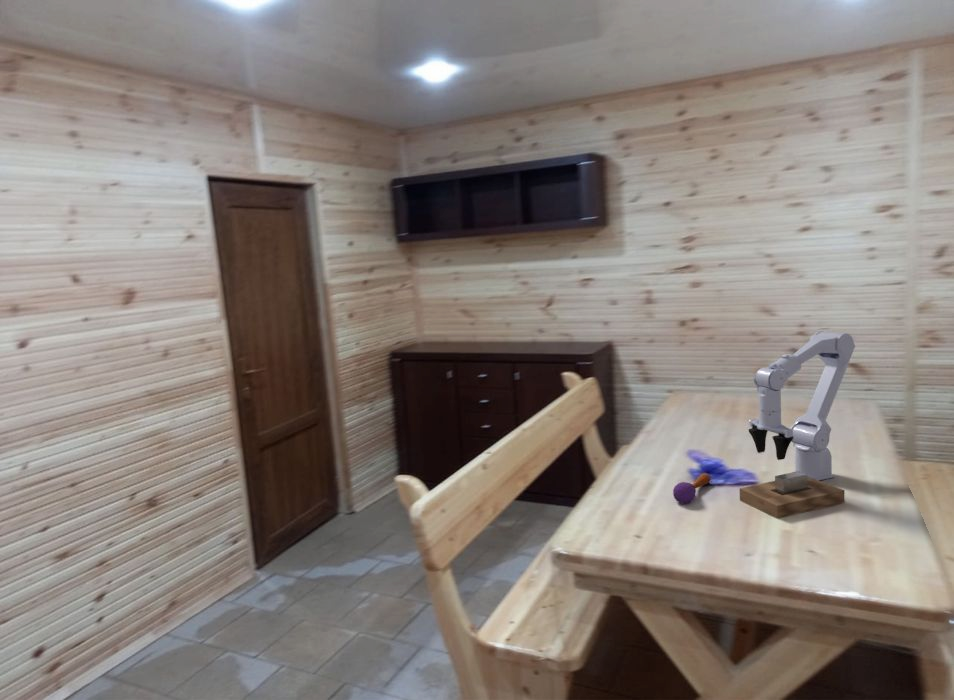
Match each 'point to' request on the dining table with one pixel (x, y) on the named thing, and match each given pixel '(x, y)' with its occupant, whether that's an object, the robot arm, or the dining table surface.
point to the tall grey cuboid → (790, 483)
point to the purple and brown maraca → (689, 489)
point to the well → (791, 498)
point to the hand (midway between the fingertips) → (770, 455)
